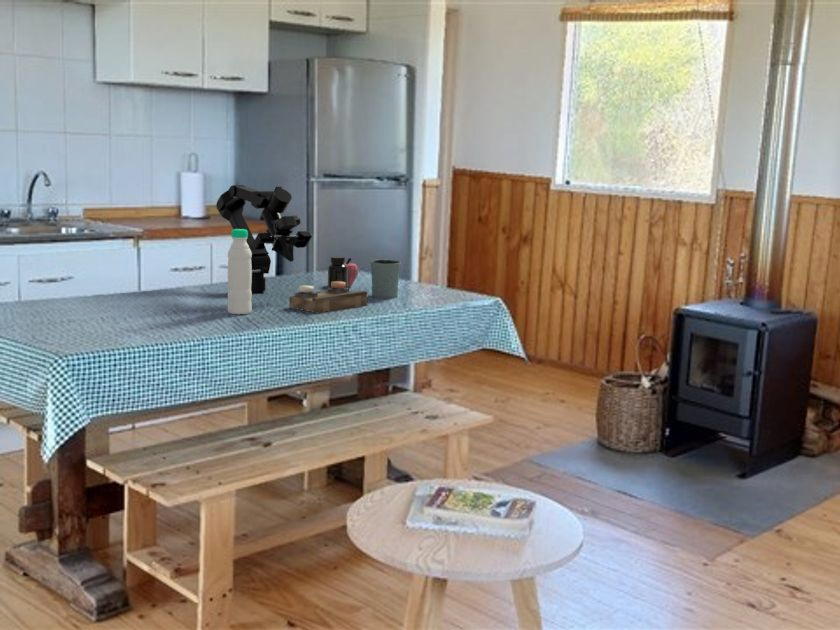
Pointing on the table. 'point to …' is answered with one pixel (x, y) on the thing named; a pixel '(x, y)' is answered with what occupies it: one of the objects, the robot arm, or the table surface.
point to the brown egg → (338, 284)
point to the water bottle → (239, 274)
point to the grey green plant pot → (385, 278)
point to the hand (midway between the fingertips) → (291, 260)
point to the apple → (351, 272)
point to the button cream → (306, 289)
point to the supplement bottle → (337, 271)
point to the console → (328, 300)
